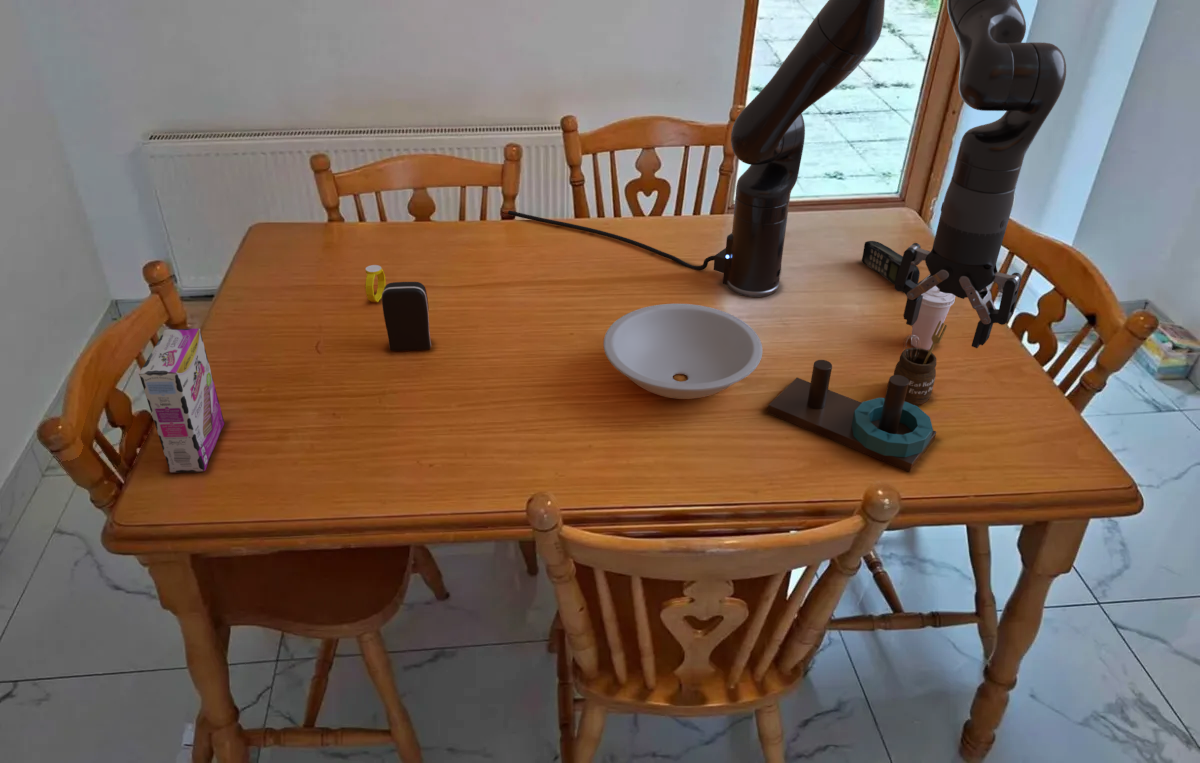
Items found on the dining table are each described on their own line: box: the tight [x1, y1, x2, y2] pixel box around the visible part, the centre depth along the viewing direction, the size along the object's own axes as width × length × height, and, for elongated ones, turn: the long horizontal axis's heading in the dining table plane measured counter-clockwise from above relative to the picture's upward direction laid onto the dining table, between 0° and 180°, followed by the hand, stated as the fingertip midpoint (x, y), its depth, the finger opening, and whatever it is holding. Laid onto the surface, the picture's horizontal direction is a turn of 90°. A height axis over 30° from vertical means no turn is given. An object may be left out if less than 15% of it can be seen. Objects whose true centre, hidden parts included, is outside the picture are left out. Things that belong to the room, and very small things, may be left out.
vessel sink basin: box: [603, 303, 763, 400], centre depth 143 cm, size 24×24×7 cm
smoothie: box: [910, 286, 956, 351], centre depth 149 cm, size 6×6×14 cm
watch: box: [364, 264, 387, 303], centre depth 163 cm, size 6×3×6 cm, turn 171°
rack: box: [767, 359, 937, 473], centre depth 132 cm, size 22×9×10 cm, turn 53°
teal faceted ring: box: [852, 397, 934, 457], centre depth 131 cm, size 10×10×2 cm
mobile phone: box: [861, 240, 921, 286], centre depth 170 cm, size 5×3×15 cm
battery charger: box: [381, 281, 432, 352], centre depth 149 cm, size 7×4×11 cm, turn 94°
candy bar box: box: [138, 327, 225, 474], centre depth 125 cm, size 11×5×16 cm, turn 5°
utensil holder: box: [893, 321, 948, 406], centre depth 138 cm, size 6×6×12 cm
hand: (943, 333), depth 119 cm, fingers open, 8 cm apart
